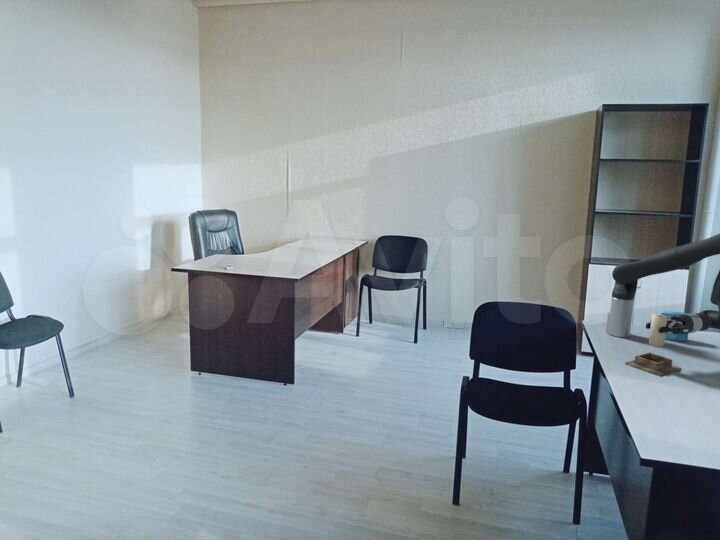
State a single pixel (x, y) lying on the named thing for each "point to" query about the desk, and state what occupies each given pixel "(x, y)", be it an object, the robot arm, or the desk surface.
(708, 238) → the robot arm
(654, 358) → the roll stand
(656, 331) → the paper roll
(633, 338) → the desk surface
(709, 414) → the desk surface
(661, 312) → the data package
